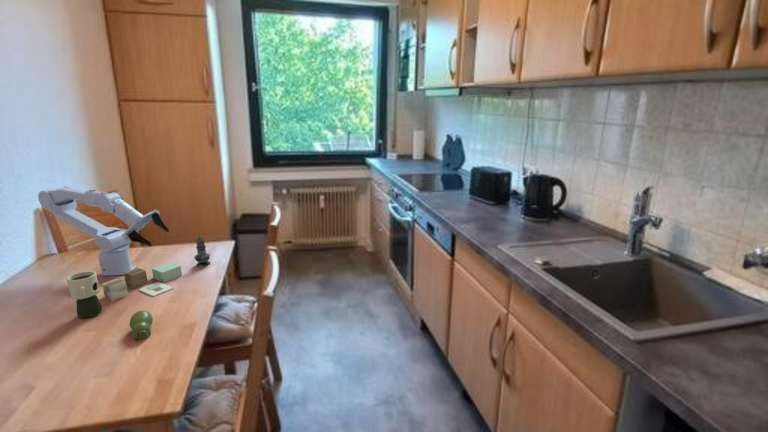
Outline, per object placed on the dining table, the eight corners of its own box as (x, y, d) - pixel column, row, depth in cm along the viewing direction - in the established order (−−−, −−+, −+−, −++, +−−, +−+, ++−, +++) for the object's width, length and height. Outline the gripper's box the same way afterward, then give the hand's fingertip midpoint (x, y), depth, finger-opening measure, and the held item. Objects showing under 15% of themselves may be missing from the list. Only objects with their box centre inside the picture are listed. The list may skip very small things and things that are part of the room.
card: (138, 290, 137) (138, 289, 137) (158, 282, 143) (158, 281, 143) (153, 296, 133) (153, 295, 133) (173, 288, 139) (173, 287, 138)
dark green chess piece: (205, 267, 156) (201, 238, 153) (192, 266, 157) (187, 237, 154) (214, 262, 162) (210, 234, 158) (201, 260, 163) (197, 233, 160)
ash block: (104, 297, 133) (101, 283, 131) (120, 291, 137) (118, 278, 135) (112, 301, 130) (109, 287, 129) (128, 295, 134) (125, 281, 133)
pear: (151, 305, 116) (150, 326, 108) (154, 319, 118) (153, 341, 110) (129, 309, 114) (126, 331, 106) (132, 324, 116) (130, 347, 108)
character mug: (104, 318, 119) (95, 279, 116) (74, 325, 116) (64, 285, 112) (104, 304, 128) (96, 266, 125) (77, 310, 124) (68, 272, 121)
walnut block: (126, 285, 141) (123, 272, 140) (140, 280, 146) (138, 267, 144) (133, 288, 139) (131, 275, 138) (148, 283, 143) (145, 270, 142)
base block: (153, 278, 148) (151, 268, 146) (171, 271, 153) (170, 262, 152) (163, 282, 144) (162, 272, 143) (182, 275, 150) (180, 266, 148)
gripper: (109, 223, 137) (140, 246, 136) (144, 197, 146) (174, 219, 145) (114, 233, 143) (143, 255, 142) (148, 207, 151) (176, 228, 151)
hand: (159, 237), depth 144 cm, fingers open, 7 cm apart
